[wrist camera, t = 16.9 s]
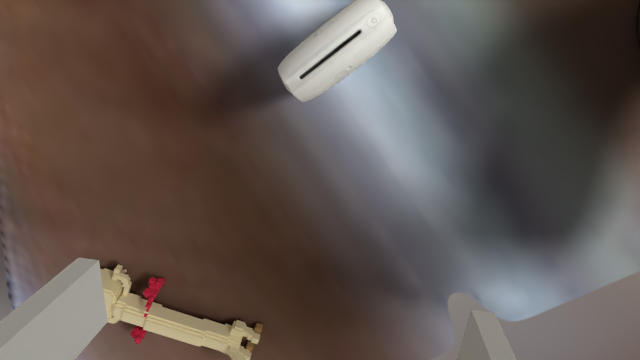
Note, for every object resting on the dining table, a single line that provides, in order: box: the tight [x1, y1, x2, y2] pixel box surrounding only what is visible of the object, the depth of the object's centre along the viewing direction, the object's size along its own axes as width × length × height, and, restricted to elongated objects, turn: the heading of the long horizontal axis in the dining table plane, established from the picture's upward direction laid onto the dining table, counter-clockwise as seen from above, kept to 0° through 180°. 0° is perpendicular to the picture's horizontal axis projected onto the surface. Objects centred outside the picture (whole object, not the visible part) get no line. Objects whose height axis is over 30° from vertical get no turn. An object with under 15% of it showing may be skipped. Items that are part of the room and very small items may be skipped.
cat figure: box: [100, 264, 263, 360], centre depth 50 cm, size 10×9×25 cm
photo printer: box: [278, 0, 397, 102], centre depth 34 cm, size 10×4×12 cm, turn 127°
